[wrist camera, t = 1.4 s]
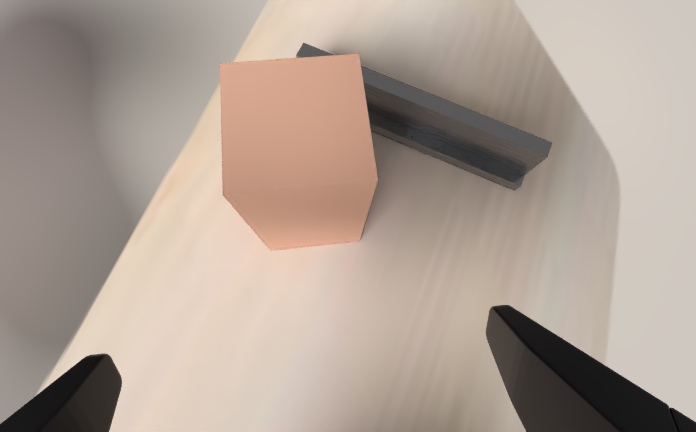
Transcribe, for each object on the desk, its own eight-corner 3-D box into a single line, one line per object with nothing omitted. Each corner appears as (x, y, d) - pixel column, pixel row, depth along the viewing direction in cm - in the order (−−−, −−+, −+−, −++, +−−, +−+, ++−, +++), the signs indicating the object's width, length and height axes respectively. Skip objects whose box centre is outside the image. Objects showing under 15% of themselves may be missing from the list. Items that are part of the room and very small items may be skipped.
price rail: (514, 190, 24) (543, 168, 21) (296, 99, 25) (290, 64, 22) (523, 164, 25) (553, 138, 21) (309, 76, 26) (305, 39, 23)
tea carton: (359, 241, 23) (378, 179, 13) (270, 250, 22) (222, 194, 13) (348, 158, 24) (358, 50, 15) (265, 166, 24) (220, 60, 14)
